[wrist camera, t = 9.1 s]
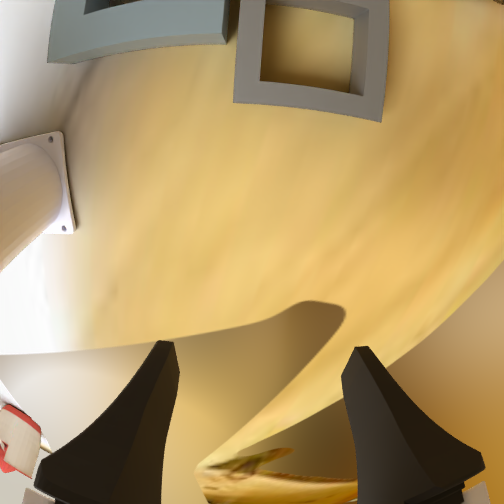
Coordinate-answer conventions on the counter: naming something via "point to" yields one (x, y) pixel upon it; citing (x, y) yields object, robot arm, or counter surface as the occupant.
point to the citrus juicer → (18, 441)
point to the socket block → (132, 27)
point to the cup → (500, 1)
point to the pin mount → (298, 96)
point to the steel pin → (129, 1)
